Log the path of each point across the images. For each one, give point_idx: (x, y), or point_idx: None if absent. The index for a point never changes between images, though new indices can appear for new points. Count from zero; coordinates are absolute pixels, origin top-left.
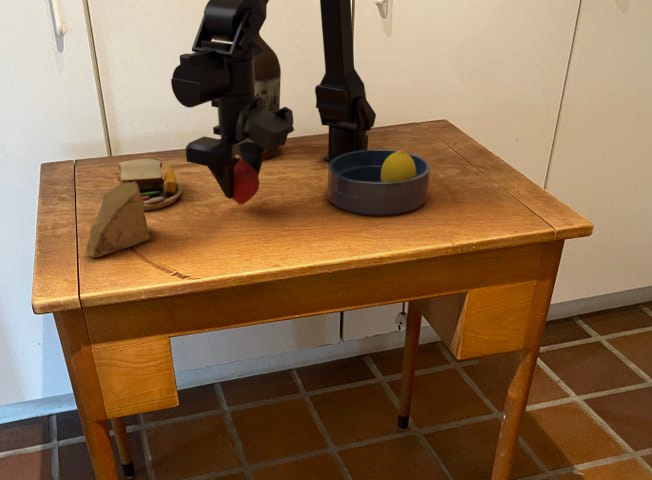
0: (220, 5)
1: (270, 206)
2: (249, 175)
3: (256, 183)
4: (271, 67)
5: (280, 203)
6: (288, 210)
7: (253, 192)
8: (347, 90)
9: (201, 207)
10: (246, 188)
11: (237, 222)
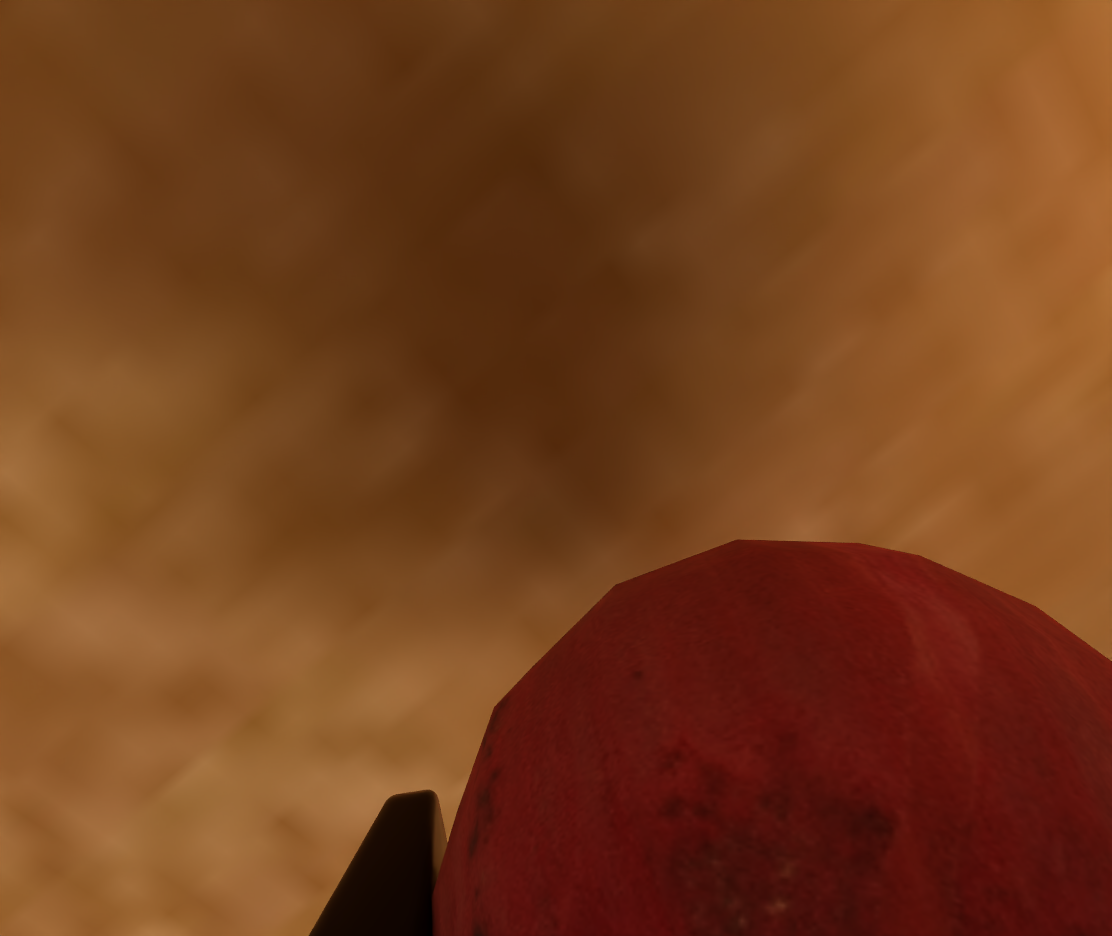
0: None
1: (300, 400)
2: (1092, 894)
3: (802, 645)
4: None
5: (96, 362)
6: (200, 42)
7: (818, 549)
8: None
9: None
10: (1069, 645)
11: (1032, 368)
